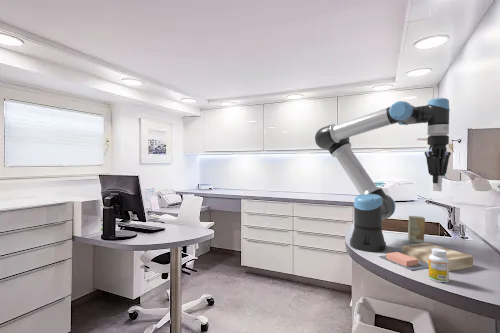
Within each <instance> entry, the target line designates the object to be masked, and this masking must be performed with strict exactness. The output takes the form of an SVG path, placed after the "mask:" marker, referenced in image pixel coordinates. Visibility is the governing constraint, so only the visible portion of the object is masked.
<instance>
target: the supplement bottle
mask: <svg viewBox="0 0 500 333" xmlns="http://www.w3.org/2000/svg"><path fill="white" fill-rule="evenodd" d="M446 255H447V252H446V250H443V249H438V248H433V249H432V255H430V256H429V268H428V278H429V279H430V280H431V279H432V280H431V281H433V280H434V281H433V282H436V281H437V282H436V283H441V282H446V283H448V282H449V280H450V278H449V277H450V275H449V274H450V271H449V259H448V258H447V257H446Z"/></svg>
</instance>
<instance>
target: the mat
mask: <svg viewBox="0 0 500 333" xmlns="http://www.w3.org/2000/svg"><path fill="white" fill-rule="evenodd" d="M378 257H379V258H381V259H383V260H385V261H388V262H390V263H391V264H395V265H397V264H398V263H396V262H393V261H391V260H388V259H386V254H385V255H380V256H378ZM398 266H400V267H402V268H404V267H405V269H407V270H409V269H410V271H412V270H414V271H417V270H419V271H420V270H423V269H424V270H425V269H429V265H428V264H426V263H423V262H420V261H418V265H414V266H408V267H406V266H403V265H401V264H398Z"/></svg>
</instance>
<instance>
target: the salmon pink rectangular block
mask: <svg viewBox="0 0 500 333" xmlns="http://www.w3.org/2000/svg"><path fill="white" fill-rule="evenodd" d="M385 255H386V259H388V260H391V261H393V262H396V263H398V264H401V265H403V266H406V267H408V266H414V265H418V259H416V258H413V257H410V256H407V255H405V254H402V253H401V252H398V251H396V252H395V251H394V252H389V253H385Z"/></svg>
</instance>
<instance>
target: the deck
mask: <svg viewBox="0 0 500 333" xmlns="http://www.w3.org/2000/svg"><path fill="white" fill-rule="evenodd" d="M433 248H438V249H443V250H446V252H447V255H446V257H447V258H448V259H449V272H452V270H453V271H458V270H463V269H469V268H473V267H474V255H471V254H468V253H465V252H460V251H457V250H453V249H451V248H447V247H444V246H439V245H437V244H433V243H430V242H424V243H415V244H413V243H412V244H405V245H402V249H401V250H402V254H405V255H407V256H410V257H413V258H416V259H418V261H420V262H423V263H426V264H428V265H429V256H430V255H432V249H433Z"/></svg>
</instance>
